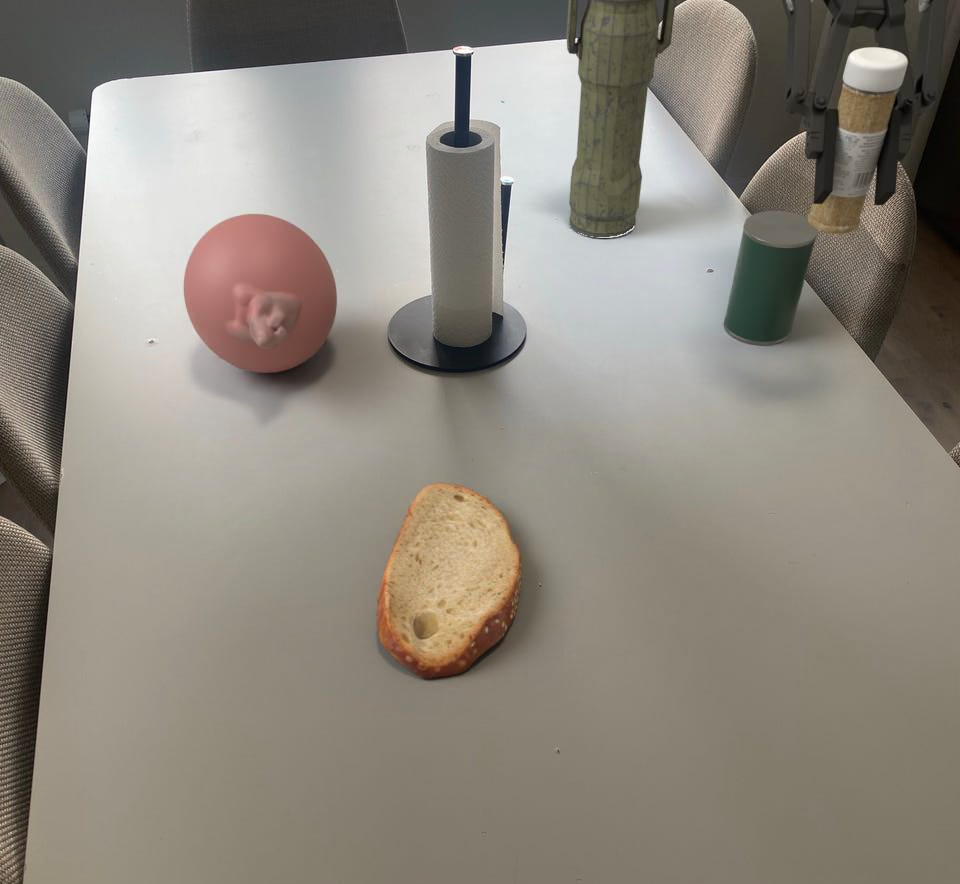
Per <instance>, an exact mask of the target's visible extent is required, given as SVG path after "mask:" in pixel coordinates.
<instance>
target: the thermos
mask: <svg viewBox="0 0 960 884" xmlns="http://www.w3.org/2000/svg"><path fill="white" fill-rule="evenodd" d="M676 2H677V0H664V3H663V12H662V20H661V26H660V19H659V12H658V7H657V0H587V4H586V7H585V10H584V12H583V16H582V19H581V22H580V36H578V37H577V22H578V8H579V7H578V6H579V0H567V13H566V14H567V18H566V50H567V52H568V53H569V54H570V55H571V54H572V55H576V58H577V59H578V67H577V75H578V77H579V81H580V97H579V115H578V129H577V145H576V147H577V148H576V157H575V160H574V162H573V165H572V168H571V174H570V185H569V203H568V204H569V207H570V215H569V223H570V224H569V223H568V224H569V226H570V225H571V226H570V228H571V227H572V228H573V229H574V230H575V231H576V232H575V231H574V230H573V229H572V228H571V229H572V230H573V231H574V232H575V233H577V232H579V233H582V234H584V235H587V236H593V237H610V236H617V235H620V234H624V233H626V232H627V231H629V230H630V229H632V228H633V226H634V225H635V226H636V223H637V222H636V221H637V217H636V216H637V211H638V209H639V206H640V197H641V189H642V181H643V173H642V170H641V165H640V159H641V150H642V141H643V133H644V124H645V115H646V108H647V107H646V106H647V97H648V89H649V86H650V83H651V82H652V79H653V78H654V71H655V63H656V59H658V56H659V55H661V54H662V53H664V51H666V50H667V49H668V48H669V47H670V46H671V45H672V36H673V27H674V17H675V12H676V4H677V3H676ZM660 27H661V28H660ZM659 29H660V36H659ZM658 37H659V38H658ZM576 39H577V40H576ZM579 233H578V234H579Z"/></svg>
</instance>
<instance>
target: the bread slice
mask: <svg viewBox="0 0 960 884" xmlns="http://www.w3.org/2000/svg"><path fill="white" fill-rule="evenodd" d="M513 538H514V537H513V535H512V532H511V528H510V525H509V522H508V521H507V519H506V518H505V516H504V515H503V514H502V512H501V511H500V510H499V509H498V508H497V507H496V506H495V505H494V504H493V503H492V502H491V501H490V500H489V499H488V498H487V497H485V496H484V495H482V494H480V493H479V492H477V491H474V490H472V489H470V488H467V487H464V486H463V485H459V484H452V483H445V482H437V483H432V484H429V485H427V486H424V487H422V489H421V491H420V492H419V493H418V494H417V495H416V497H415V498H414V499H413V501H412V503H410V506H409V507H408V511H407V514H406V515H405V517H404V519H403V523H402V524H401V528H400V530H399V532H398V534H397V536H396V539H395V541H394V544H393V546H392V550H391V553H390V555H389V558H388V560H387V563H386V566H385V569H384V573H383V576H382V579H381V583H380V587H379V592H378V595H377V606H378V607H377V616H376V617H377V621H376V622H377V623H376V625H377V632H378V637H379V640H380V643H381V644H382V645H383V647H384V648H385V650H386V651H387V652H388V653H389V654H390V656H391V657H392V658H393V659H395V661H397V662H398V663H399V664H401V665H402V666H404V667H406V668H408V670H410V671H411V672H413V673H414V675H416V676H417V677H419V678H423V679H429V680H430V679H434V678H439V677H448V676H454V675H458V674H461V673H464V672H465V671H467V670H469V669H470V667H471V666H472V665H473V663H474V662H475V661H477V660H478V658H479V657H480V656H482V655H483V654H484V653H485V652H486V651H488V650H489V649H491V648H492V647H493V646H495V645H496V644H497V643H498V642H499V641H500V640H501V639H502V638H504V636H505V634H506V632H507V631H508V629H509V628H510V626H511V624H512V623H513V621H514V620H515V616H516V611H517V609H518V606H519V599H520V594H521V588H522V582H523V576H522V575H523V562H522V556H521V552H520V550H519V547H518V546H517V545H516V543H515V540H514V539H513Z"/></svg>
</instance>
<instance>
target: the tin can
mask: <svg viewBox="0 0 960 884" xmlns="http://www.w3.org/2000/svg"><path fill="white" fill-rule="evenodd" d="M818 232H819V230H817V229H816V228H814V227H813V226H812V225H811V224H810V223H809V221H808V217H806V216H804V215H801V214H798V213H794V212H790V211H785V210H766V211H760V212H755V213H754V214H751V215H749V216H748V217H747V218H746V219H745V220H744V224H743V231H742V235H741V240H740V244H739V249H738V254H737V260H736V263H735V269H734V274H733V279H732V283H731V287H730V292H729V298H728V303H727V307H726V312H725V316H724V320H723V328H724V330H725V332H726V333H727V334H728V335H729V336H730V337H732V338H734V339H735V340H737V341H740V342H742V343H745V344H748V345H749V344H750V345H754V346H771V345H777V344H781V343H782V342H784V341H786V340H787V339H788V338H790V337H791V333H792V330H793V325H794V322H795V317H796V314H797V310H798V306H799V303H800V298H801V295H802V292H803V287H804V284H805V280H806V276H807V272H808V269H809V265H810V261H811V257H812V255H813V250H814V247H815V242H816V240H817V237H818Z"/></svg>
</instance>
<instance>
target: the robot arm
mask: <svg viewBox="0 0 960 884" xmlns="http://www.w3.org/2000/svg"><path fill="white" fill-rule="evenodd" d="M821 1H822V2H823V4H824V5H825V7H826V8H827V10H828V12H829V14H830V15H831V20H830V24H829V27H828V31H827V34H826V41H825V44H824V48H823V51H822V55H821V59H820V62H819V65H818V69H817V73H816V76H815V80H814V83H813V87H812V90H811V91H809V90H808V89H809V69H810V68H809V67H810V66H809V65H810V64H809V63H810V45H811V43H810V42H811V21H812V4H813V3H814V0H781V3H782V7H783V9H784V12H785V13H784V14H785V16H786V19H787V21H788V22H787V41H786V42H787V43H786V63H785V64H786V65H785V67H786V68H785V85H784V86H785V89H784V110H785V112H786V113H787V114H790V115H793V114H799V115H800V116H802V117H803V118H802V122H803V124H804V125H805V126H806V128H805V144H804V145H805V146H804V155H805V159H806V160H815V170H814V186H813V200H814V201H813V200H812V204H823V203H824V201H825V200H826V199H827V198H828V196H829V195H830V194H831V193H832V191H833V176H834V161H835V146H836V131H837V116H838V109H837V108H828V105H829V103H830V100H831V97H832V94H833V90H834V87H835V83H836V80H837V75H838V72H839V70H840V65H841V62H842V58H843V55H844V51H845V47H846V44H847V42H848V38H849V33H850V31H851V29H856V28H859V27H864V28H867V29H870V30H871V29H872V30H873V37H874V41H875V43H876V44H877V45H878V48H886V49H891V50H895V51H898V52H900V53H902V54H903V55H905V56H906V58H907V60H908V64H907V68H906V72H905V75H904V79H903V82H902V85H901V86H900V87H899V91H898V92H897V94H896V97H895V101H894V104H893V108H892V111H891V115H890V118H889V122H888V129H887V132H886V135H885V139H884V142H883V146H882V149H881V152H880V156H879V159H878V162H877V166H876V170H875V173H876V174H875V189H874V201H873V205H874V206H884V205H885V204H886V203H887V202H888V201H889V200H890V199H891V198H892V197H893V196H894V195H895V194H897V193H896V192H897V179H898V178H897V177H898V163H899V162H901V161H902V160H903V159H904V157H906V156H907V155H908V153H909V152H910V149H911V140H912V128H913V118H914V117H921V116H923V115H925V113H926V112H927V111H928V110H929V109H930V108H931V107H932V105H934V103H935V102H936V101H937V100H938V98H939V96H940V85H941V76H942V75H941V74H942V64H943V54H944V53H943V52H944V42H945V30H946V20H947V8H948V5H949V2H950V0H918V3H917V4H918V11H919V12H920V13H921V17H920V21H919V25H918V32H917V33H918V34H917V45H916V56H915V67H914V68H915V69H914V78H913V73H912V67H911V60H910V53H909V46H908V40H907V39H908V38H907V34H906V26H905V21H906V16H907V15H906V14H907V13H906V7H905V4H906V3H907V2H908V0H821Z"/></svg>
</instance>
